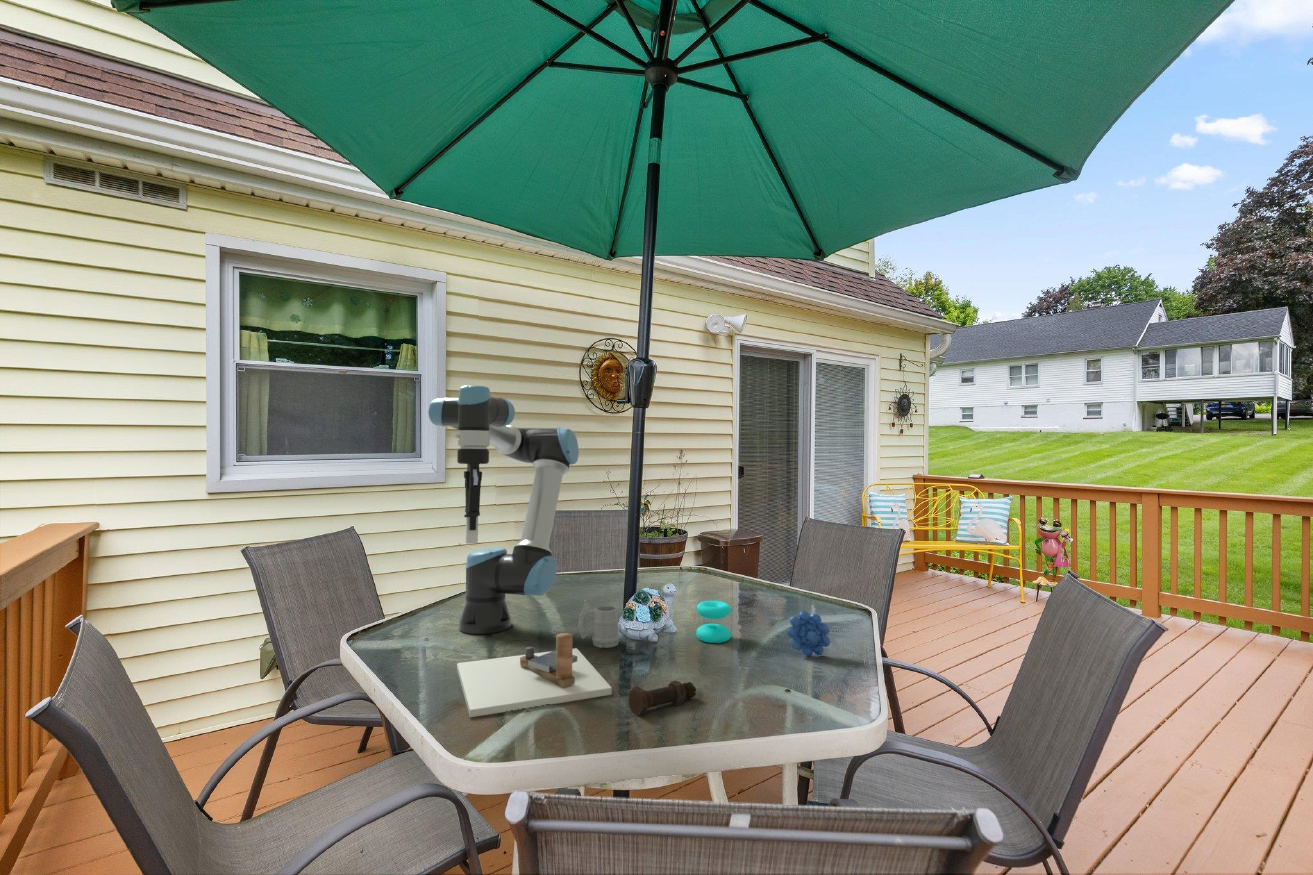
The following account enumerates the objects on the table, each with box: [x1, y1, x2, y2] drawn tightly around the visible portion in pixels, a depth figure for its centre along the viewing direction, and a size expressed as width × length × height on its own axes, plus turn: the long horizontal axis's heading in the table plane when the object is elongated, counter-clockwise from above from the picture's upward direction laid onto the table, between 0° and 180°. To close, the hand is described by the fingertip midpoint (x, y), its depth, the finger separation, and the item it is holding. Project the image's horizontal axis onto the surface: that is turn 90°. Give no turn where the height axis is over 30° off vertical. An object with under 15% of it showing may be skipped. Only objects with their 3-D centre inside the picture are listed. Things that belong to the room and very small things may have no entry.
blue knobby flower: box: [786, 610, 831, 657], centre depth 156 cm, size 12×7×12 cm, turn 95°
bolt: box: [628, 679, 697, 717], centre depth 126 cm, size 6×5×15 cm
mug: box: [577, 599, 621, 649], centre depth 166 cm, size 8×12×12 cm, turn 86°
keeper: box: [528, 649, 577, 672], centre depth 139 cm, size 9×7×5 cm
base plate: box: [456, 647, 613, 718], centre depth 138 cm, size 28×30×2 cm
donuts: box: [695, 600, 732, 644], centre depth 171 cm, size 10×10×10 cm
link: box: [520, 632, 575, 687], centre depth 139 cm, size 19×4×10 cm, turn 42°
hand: (471, 542), depth 148 cm, fingers closed
